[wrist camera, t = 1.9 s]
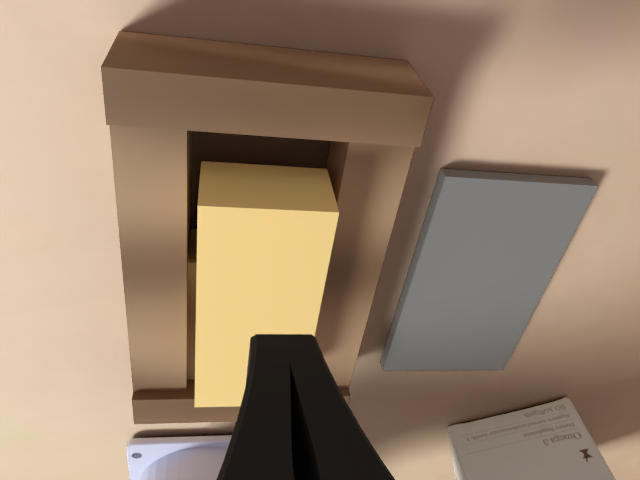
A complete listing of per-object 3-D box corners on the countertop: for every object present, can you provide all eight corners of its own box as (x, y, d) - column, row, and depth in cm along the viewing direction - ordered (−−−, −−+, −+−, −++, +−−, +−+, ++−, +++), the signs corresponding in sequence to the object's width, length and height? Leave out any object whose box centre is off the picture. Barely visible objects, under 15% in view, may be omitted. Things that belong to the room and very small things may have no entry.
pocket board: (333, 365, 27) (343, 418, 25) (143, 367, 25) (134, 424, 23) (407, 60, 18) (434, 97, 16) (119, 31, 16) (101, 67, 14)
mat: (498, 360, 28) (503, 370, 28) (380, 361, 27) (382, 371, 27) (590, 178, 22) (598, 186, 22) (440, 168, 21) (445, 176, 20)
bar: (294, 355, 23) (300, 405, 21) (197, 355, 22) (194, 407, 20) (327, 168, 18) (339, 212, 16) (200, 161, 17) (197, 205, 15)
